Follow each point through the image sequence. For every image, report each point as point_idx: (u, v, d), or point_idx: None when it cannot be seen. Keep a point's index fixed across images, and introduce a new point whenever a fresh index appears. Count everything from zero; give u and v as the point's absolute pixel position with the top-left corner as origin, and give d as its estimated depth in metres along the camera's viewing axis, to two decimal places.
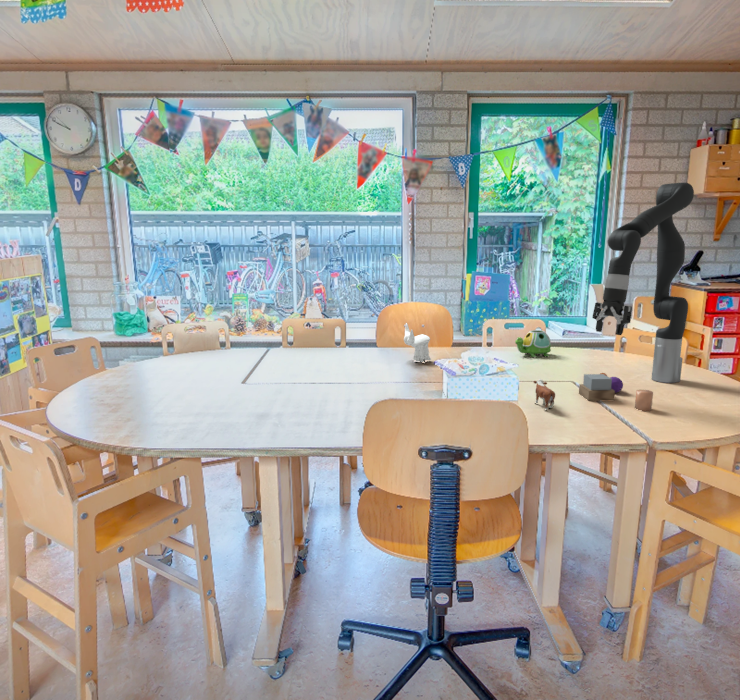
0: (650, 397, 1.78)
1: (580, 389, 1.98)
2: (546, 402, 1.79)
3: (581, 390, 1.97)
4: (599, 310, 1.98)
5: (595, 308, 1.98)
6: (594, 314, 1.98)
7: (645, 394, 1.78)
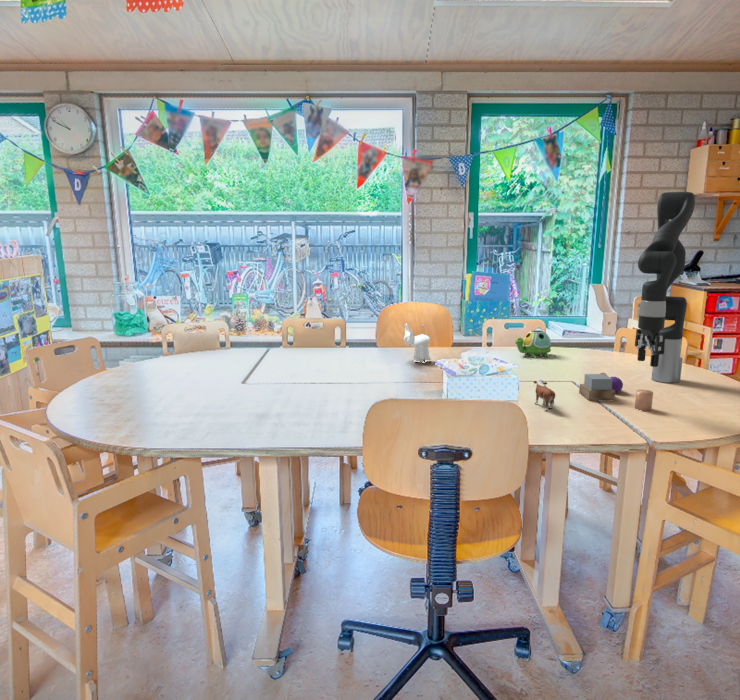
0: (650, 397, 1.78)
1: (580, 389, 1.98)
2: (546, 402, 1.79)
3: (582, 389, 1.97)
4: None
5: (636, 335, 1.83)
6: (636, 342, 1.83)
7: (645, 394, 1.78)
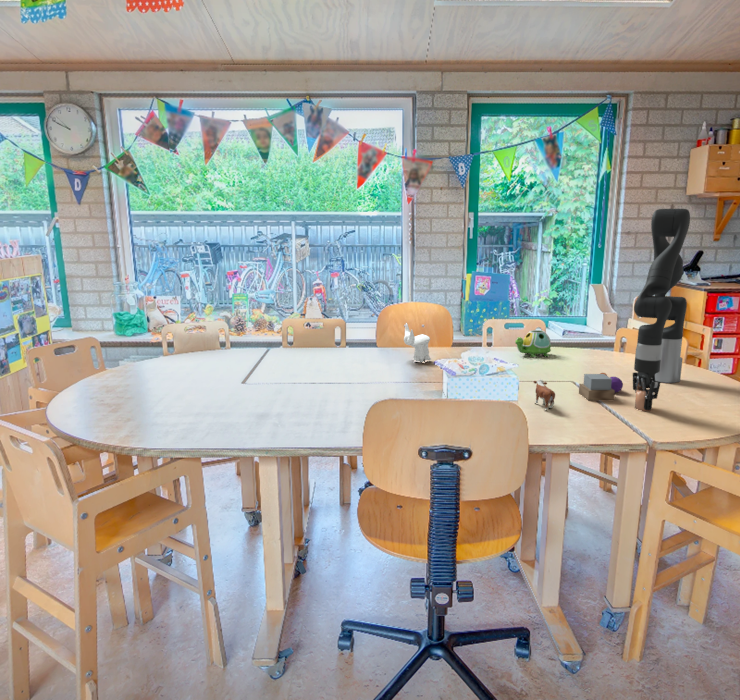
0: None
1: (580, 389, 1.98)
2: (546, 402, 1.79)
3: (581, 389, 1.97)
4: None
5: (633, 379, 1.85)
6: (633, 385, 1.85)
7: None
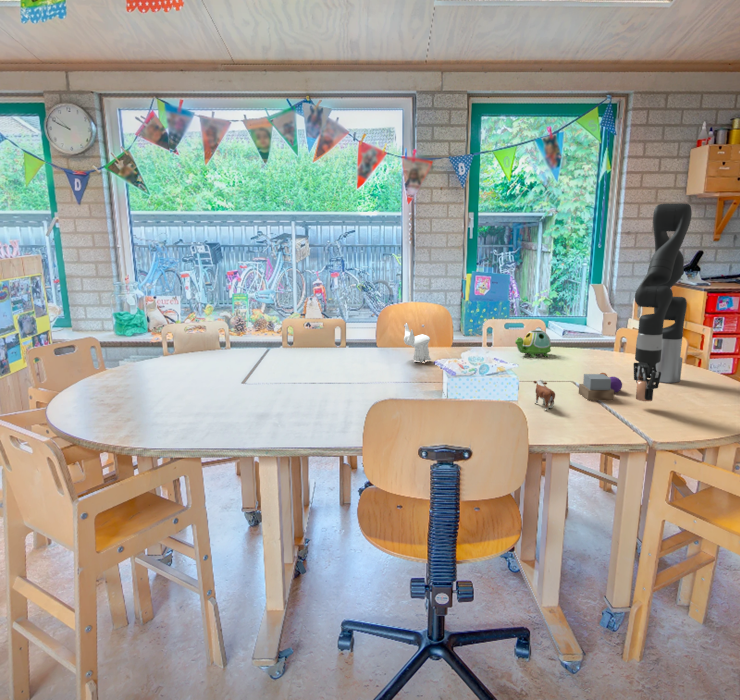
0: None
1: (580, 389, 1.98)
2: (546, 402, 1.79)
3: (581, 389, 1.97)
4: None
5: (634, 369, 1.85)
6: (634, 375, 1.84)
7: None
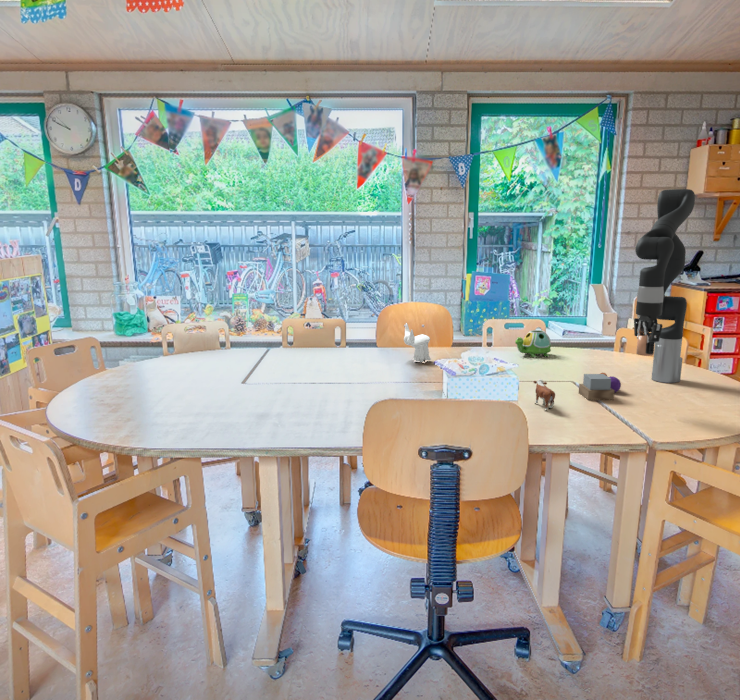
0: None
1: (580, 389, 1.98)
2: (546, 402, 1.79)
3: (581, 389, 1.97)
4: None
5: (634, 325, 1.82)
6: (635, 331, 1.82)
7: None
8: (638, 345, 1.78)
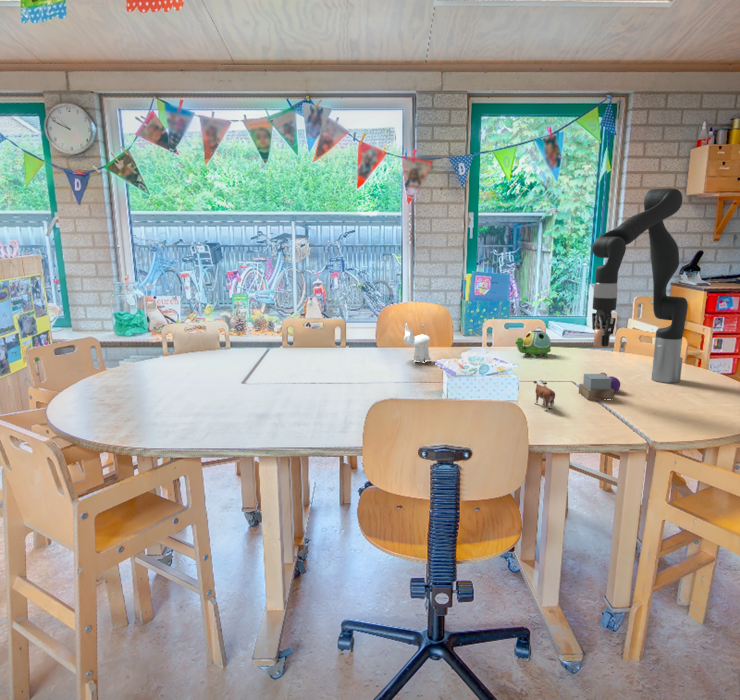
0: None
1: (580, 389, 1.98)
2: (546, 402, 1.79)
3: (581, 389, 1.97)
4: None
5: (592, 319, 1.95)
6: (593, 325, 1.94)
7: None
8: (595, 338, 1.90)
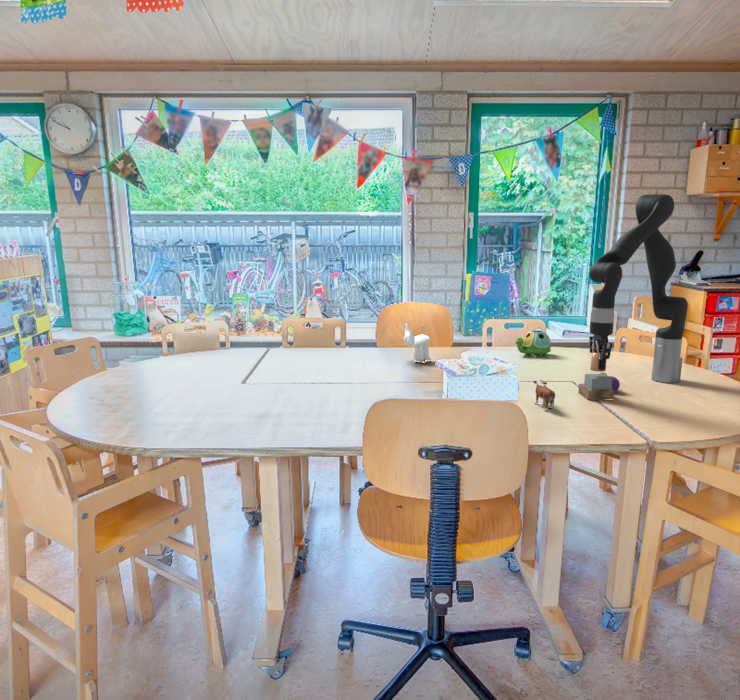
0: None
1: (580, 389, 1.98)
2: (546, 402, 1.79)
3: (581, 389, 1.97)
4: None
5: (590, 342, 1.97)
6: (590, 348, 1.97)
7: None
8: (591, 361, 1.92)
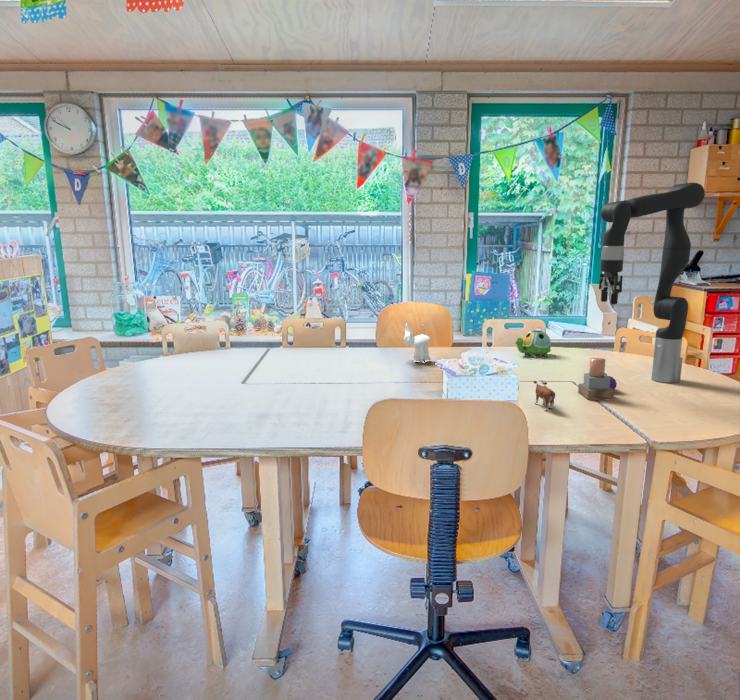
0: (602, 363, 1.91)
1: (579, 388, 1.99)
2: (546, 402, 1.79)
3: (581, 389, 1.97)
4: None
5: (600, 279, 2.07)
6: (599, 285, 2.07)
7: (597, 360, 1.91)
8: (590, 367, 1.94)
